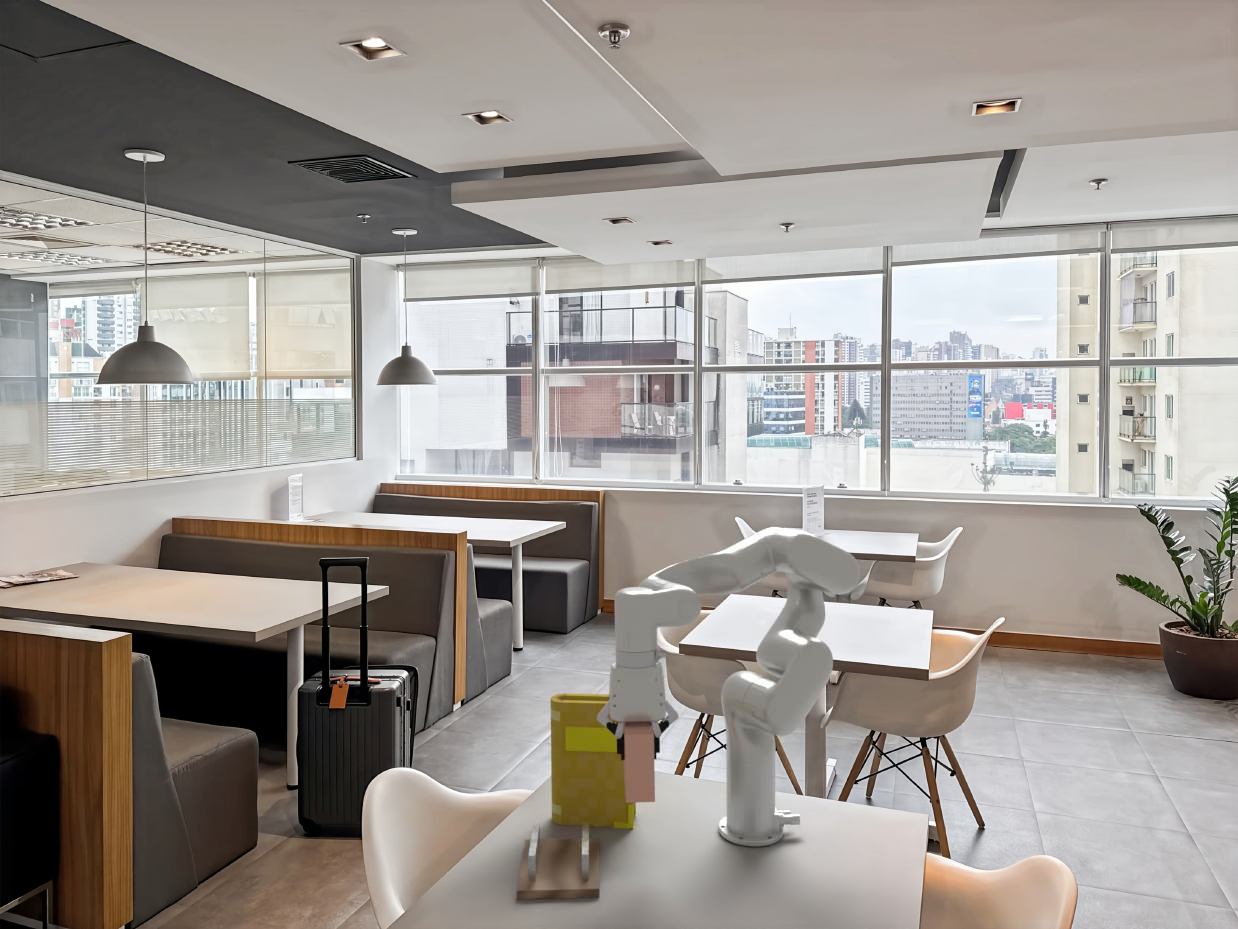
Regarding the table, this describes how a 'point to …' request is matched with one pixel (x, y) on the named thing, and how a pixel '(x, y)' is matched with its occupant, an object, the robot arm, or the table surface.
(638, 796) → the small book
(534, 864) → the bookends
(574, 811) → the book
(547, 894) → the shelf board
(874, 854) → the table surface
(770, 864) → the table surface
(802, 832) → the table surface
